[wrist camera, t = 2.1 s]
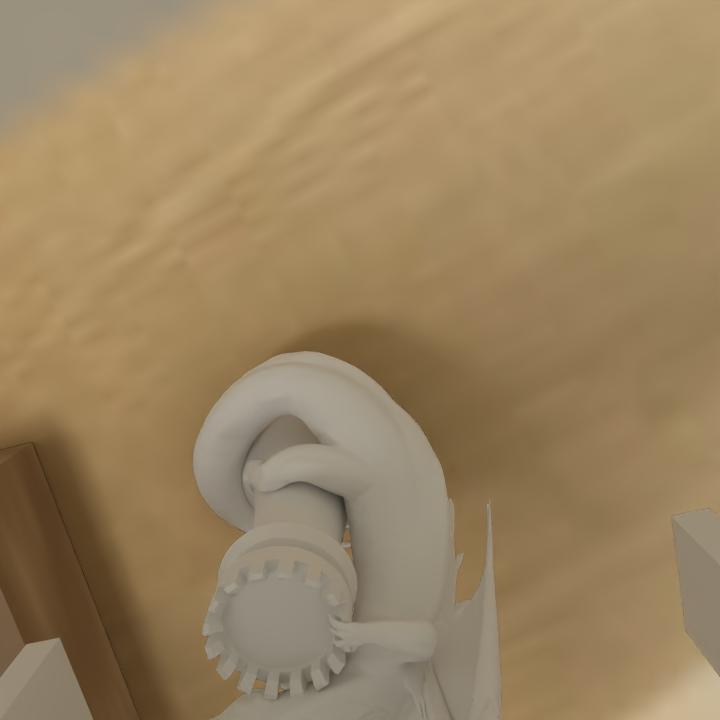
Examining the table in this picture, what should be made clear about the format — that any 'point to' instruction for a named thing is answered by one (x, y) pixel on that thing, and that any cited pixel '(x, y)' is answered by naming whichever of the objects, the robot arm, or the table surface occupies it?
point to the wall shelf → (50, 588)
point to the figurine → (339, 555)
